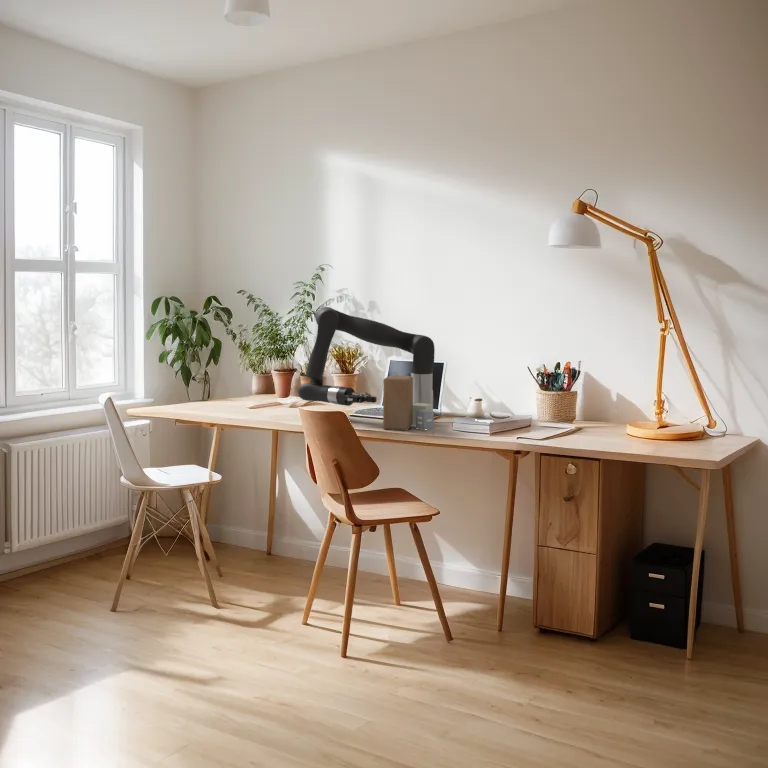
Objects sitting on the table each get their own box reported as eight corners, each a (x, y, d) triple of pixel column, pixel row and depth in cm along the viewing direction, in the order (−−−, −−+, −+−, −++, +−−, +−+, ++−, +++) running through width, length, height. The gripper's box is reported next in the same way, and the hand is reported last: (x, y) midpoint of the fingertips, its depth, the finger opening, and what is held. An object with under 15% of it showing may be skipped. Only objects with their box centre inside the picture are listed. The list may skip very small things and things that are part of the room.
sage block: (417, 422, 343) (418, 402, 342) (431, 423, 340) (432, 404, 339) (411, 424, 337) (411, 405, 336) (425, 426, 335) (426, 406, 334)
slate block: (425, 427, 333) (425, 409, 332) (434, 429, 329) (434, 411, 328) (415, 428, 330) (415, 410, 329) (424, 430, 326) (424, 412, 325)
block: (408, 430, 325) (408, 379, 322) (382, 429, 327) (382, 378, 324) (413, 426, 335) (413, 375, 332) (388, 425, 337) (388, 375, 334)
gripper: (330, 388, 340) (365, 392, 330) (351, 384, 351) (385, 388, 341) (330, 406, 341) (365, 411, 331) (350, 402, 352) (385, 406, 342)
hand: (375, 399), depth 336 cm, fingers closed
